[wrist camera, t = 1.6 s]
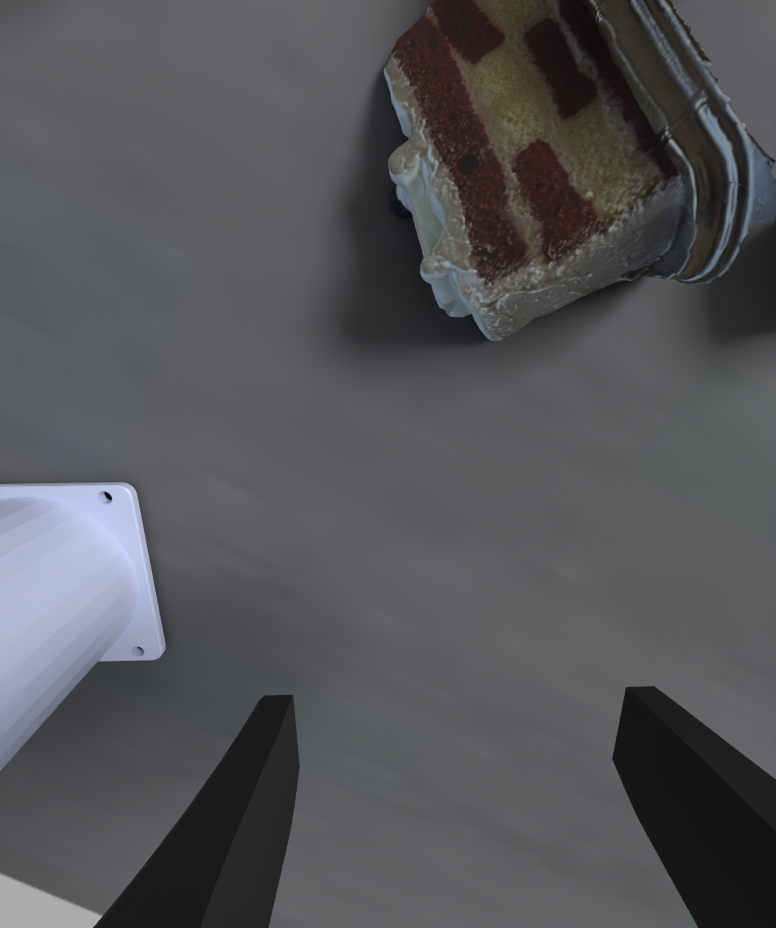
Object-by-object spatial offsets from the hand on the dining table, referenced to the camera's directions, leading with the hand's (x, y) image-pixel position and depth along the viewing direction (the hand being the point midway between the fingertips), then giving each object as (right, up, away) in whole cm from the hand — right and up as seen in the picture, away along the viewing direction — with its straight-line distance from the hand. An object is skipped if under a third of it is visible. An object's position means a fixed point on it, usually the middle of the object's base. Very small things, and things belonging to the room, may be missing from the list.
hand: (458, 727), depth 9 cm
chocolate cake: (+2, +15, +5) cm, 16 cm away
